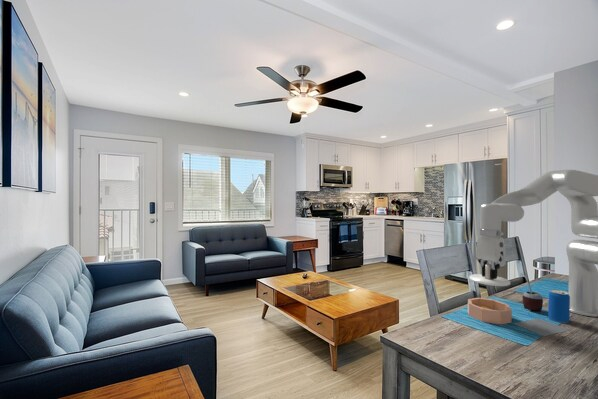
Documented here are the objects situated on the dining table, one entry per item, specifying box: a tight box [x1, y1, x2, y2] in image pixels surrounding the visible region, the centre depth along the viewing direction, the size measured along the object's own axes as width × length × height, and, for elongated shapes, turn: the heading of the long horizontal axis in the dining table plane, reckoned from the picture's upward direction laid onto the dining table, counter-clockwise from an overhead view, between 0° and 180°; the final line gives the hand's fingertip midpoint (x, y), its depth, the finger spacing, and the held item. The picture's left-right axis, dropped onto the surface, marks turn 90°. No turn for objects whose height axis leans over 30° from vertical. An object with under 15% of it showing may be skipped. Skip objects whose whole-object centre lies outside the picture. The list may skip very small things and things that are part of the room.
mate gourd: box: [521, 274, 544, 313], centre depth 132 cm, size 8×8×15 cm
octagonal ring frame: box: [467, 297, 513, 325], centre depth 124 cm, size 15×15×6 cm
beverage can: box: [547, 289, 570, 324], centre depth 121 cm, size 6×6×12 cm
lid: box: [468, 263, 511, 287], centre depth 124 cm, size 14×14×7 cm
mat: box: [513, 317, 571, 337], centre depth 115 cm, size 15×11×1 cm
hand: (489, 277), depth 124 cm, fingers closed on lid, 3 cm apart
